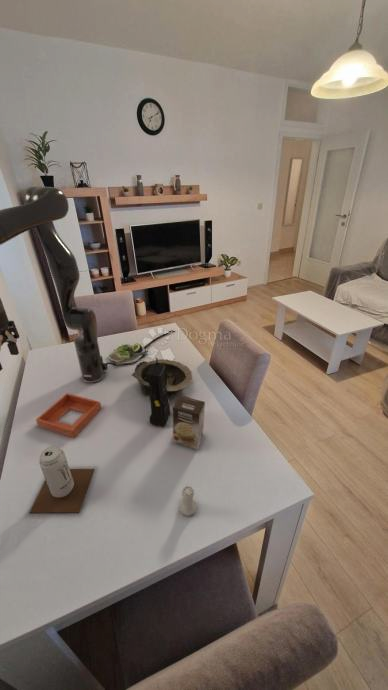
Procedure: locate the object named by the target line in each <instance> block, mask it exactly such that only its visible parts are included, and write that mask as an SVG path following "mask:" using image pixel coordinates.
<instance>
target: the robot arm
mask: <svg viewBox="0 0 388 690" xmlns="http://www.w3.org/2000/svg"><path fill="white" fill-rule="evenodd" d="M68 200H69V199H68V198H67V195H66V194H65V193H64V192H63V191H62V190H61V189H59V188H57V187H54V186H29V187H27V189H26V190H25V192H24V202H25V203H24V204H20V205H16V206H12V207H6V208H3V209H0V246H1V245H4V244H5V243H7V242H9V241H11V240H12V239H15V238H17V237H18V236H20V235H21V234H24V233H26V232H28V231H30V230H33V229H35V231H36V233H37V235H38V237H39V241H40V243H41V246H42V249H43V252H44V255H45V257H46V260H47V265H48V268H49V272H50V275H51V277H52V279H53V283H54V286H55V289H56V292H57V297H58V299H59V303H60V309H61V314H62V318H63V321H64V324H65V326H66V328H67V329H69V330H71V331H79V332H82V333H81V334H79V335H77V336H76V337H75V338H74V340H73V343H74V347H75V352H76V357H77V360H78V365H79V369H80V374H81V380H82V381H83V382H84V383H86V384H93V383H98V382H100V381H102V380H103V379H104V377H105V374H106V371H107V370H108V369H109V367H108V366H109V365H111V366H117V365H116V362H104V359H103V356H102V354H101V352H100V347H99V340H98V337H99V331H98V325H97V324H98V322H97V316H96V313H95V311H94V310H93V309H91V308H85V307H78V306H77V303H76V300H75V293H76V290H77V286H78V285H79V281H80V275H81V274H80V271H79V270H80V269H79V267H78V263H77V259H76V257H75V255H74V254H73V252H72V251H71V249H70V248H69V247H68V245H67V244H66V243H65V241H63V239H62V238H61V237H60V234H58V232H57V229H56V227H55V224H54V222H55V221H59V220H62V219H64V218H65V217H66V216H67V215H68V212H69V207H70V205H69V201H68ZM4 306H5V305H4V304H3V300H2V298H1V297H0V351H1V349H2V346H3V345H4V344H5V343H7V344H6V346H7V348H8V351H9V353H10V355H12V356H18V355H19V354H20V351H19V348H18V345H17V341H18V340H17V339H19V338H20V334H19V331H18V328H17V326H16V324H15V321H14V320H9V318H8V315H7V312H6V309H5V307H4ZM173 330H174V329H171V330H169V331H168V332H169V333H167V332H165V333H166V334H165V333H163V334H161V335H158V336H157V337H155V338H154V339H152V340H151V341H149V343H147V344H146V345H144V346H143V348H144V349H145V350H146V348H147V347H148V346H150V345H151V344H152V343H153V342H155V341H157V340H158V339H160V338H162V337H164V336H167V335H168V334H170V333H176V331H175V330H174V331H173ZM171 331H172V332H171ZM131 357H132V356H131ZM2 370H3V366H2V363H1V362H0V372H1V371H2Z"/></svg>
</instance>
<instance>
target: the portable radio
mask: <svg viewBox="0 0 388 690" xmlns="http://www.w3.org/2000/svg"><path fill="white" fill-rule="evenodd" d="M155 360H156V364H151V366H150V368H149V369H148V371H147V372H146V381H148V382H149V390H150V395H149V400H150V402H149V403H150V410H151V411H150V416H149V424H150V425H153V426H157V427H165V426H166V425H167V423H168V421H169V418H170V416H171V409H170V400H169V399H170V398H168V393H167V387H166V386H167V376H166V367H165V365H163V364H158V362H157V360H159V358H157V357H156V358H155Z"/></svg>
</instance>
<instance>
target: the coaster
mask: <svg viewBox="0 0 388 690" xmlns="http://www.w3.org/2000/svg"><path fill="white" fill-rule="evenodd" d="M69 469H70V472H71V475H72V478H73V481H74V486H73V488H72V490H71V492H70V493H69V494H68V495H66V496H64V497H60V498H59V497H54V496H53V495H52V494H51V492H50V489H49V487H48V484H47V482H46V479H44V482H43V484H42V486H41V488H40V490H39V492H38V494H37V495H36V498H35V500H34V503H33V505H32V507H31V508H30V511H29V512H28V513H29V514H80V512H81V510H82V507H83V503H84V500H85V498H86V494H87V491H88V488H89V485H90V482H91V480H92V476H93V474H94V471H95V469H94V468H69Z"/></svg>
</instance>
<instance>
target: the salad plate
mask: <svg viewBox="0 0 388 690" xmlns="http://www.w3.org/2000/svg"><path fill="white" fill-rule="evenodd" d="M148 352H149V350H146V348H145V349H144V346H142V345H141V344H140V343H139V342H138V343H137V342H136V343H134V344H130V343H124V344H119V345H117V346H116V348H114V349H113V350H112V351H110V352H109V353H108V354H107V357H108V360H110V361H112V363H116V365H115V366H119V365H126V364H133V363H135V362H137V361H138V360H140V359H141V358H142V357H143V356H145V355H146V354H147V353H148ZM131 356H132V357H131Z"/></svg>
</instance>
